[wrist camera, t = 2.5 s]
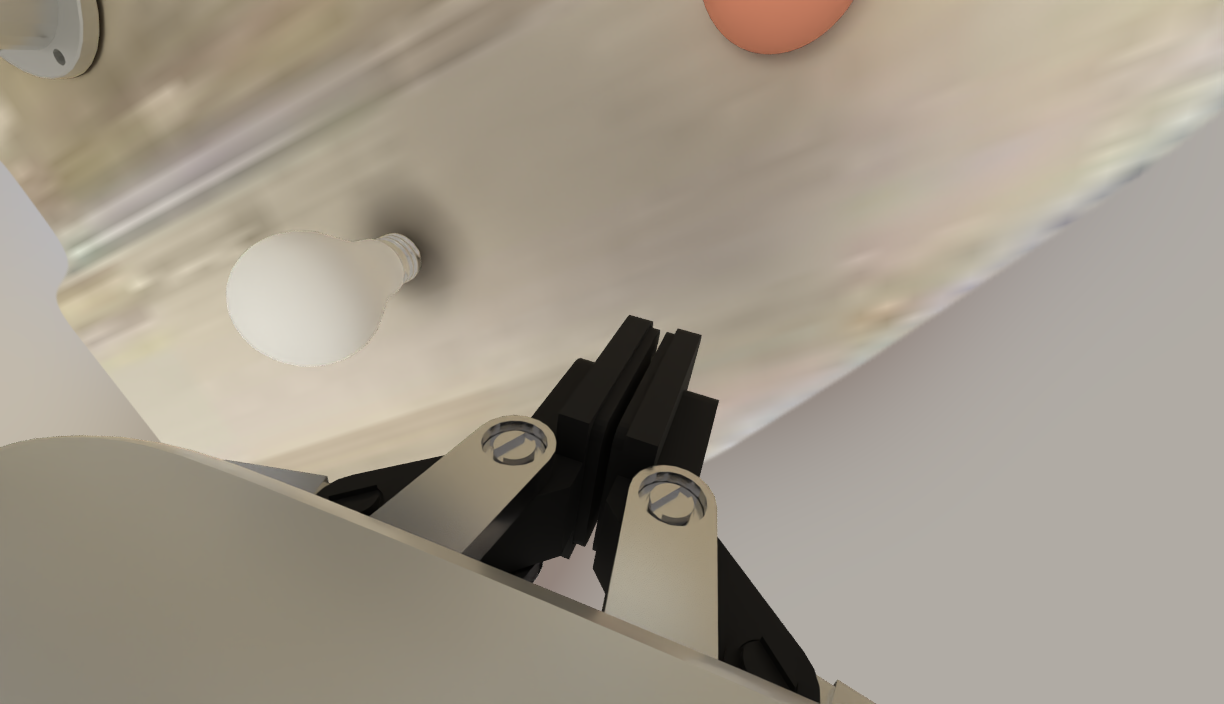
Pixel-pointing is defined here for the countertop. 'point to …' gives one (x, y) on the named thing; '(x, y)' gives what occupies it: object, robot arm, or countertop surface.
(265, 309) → the light bulb
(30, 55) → the robot arm
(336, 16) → the countertop surface
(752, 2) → the ball
